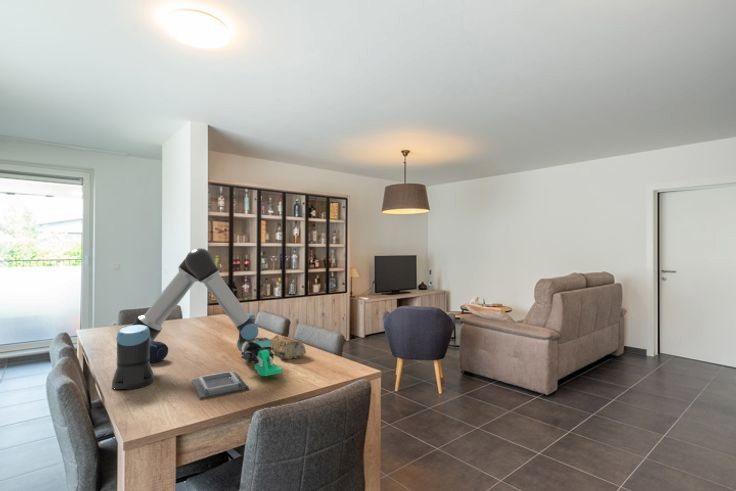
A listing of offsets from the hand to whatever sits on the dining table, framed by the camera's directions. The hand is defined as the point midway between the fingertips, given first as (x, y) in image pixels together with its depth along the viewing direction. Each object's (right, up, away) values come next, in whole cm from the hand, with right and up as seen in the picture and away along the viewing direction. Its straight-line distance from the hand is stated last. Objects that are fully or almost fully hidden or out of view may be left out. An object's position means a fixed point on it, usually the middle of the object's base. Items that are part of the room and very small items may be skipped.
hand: (266, 362), depth 160 cm
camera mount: (-1, -6, +5) cm, 8 cm away
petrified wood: (0, -9, +38) cm, 39 cm away
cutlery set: (-18, -9, +62) cm, 65 cm away
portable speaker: (-71, -9, +30) cm, 78 cm away
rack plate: (-18, -8, -5) cm, 21 cm away
